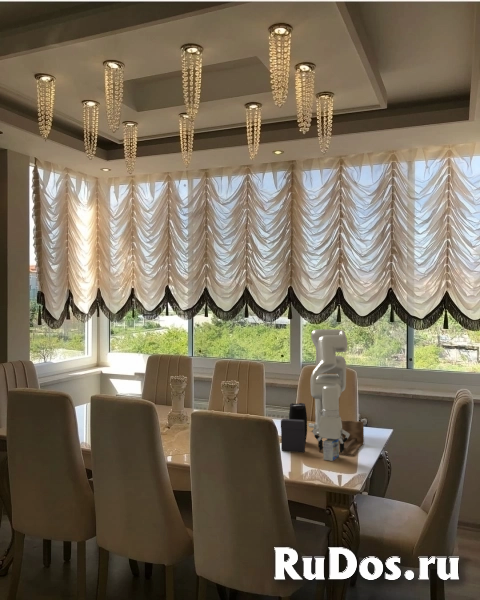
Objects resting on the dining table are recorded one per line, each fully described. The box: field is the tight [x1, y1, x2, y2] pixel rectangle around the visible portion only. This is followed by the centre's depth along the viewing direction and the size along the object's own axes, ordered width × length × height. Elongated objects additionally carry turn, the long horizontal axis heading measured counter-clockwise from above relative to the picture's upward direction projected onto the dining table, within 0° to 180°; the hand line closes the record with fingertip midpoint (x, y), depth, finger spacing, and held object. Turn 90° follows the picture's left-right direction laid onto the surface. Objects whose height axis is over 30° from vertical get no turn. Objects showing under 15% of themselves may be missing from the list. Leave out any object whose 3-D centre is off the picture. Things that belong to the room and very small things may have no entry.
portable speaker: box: [288, 402, 308, 444], centre depth 270 cm, size 9×9×20 cm
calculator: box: [280, 418, 306, 454], centre depth 255 cm, size 11×4×15 cm, turn 71°
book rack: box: [318, 419, 365, 457], centre depth 259 cm, size 16×22×11 cm
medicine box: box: [322, 439, 340, 462], centre depth 243 cm, size 8×4×9 cm, turn 148°
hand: (331, 450), depth 243 cm, fingers open, 9 cm apart
